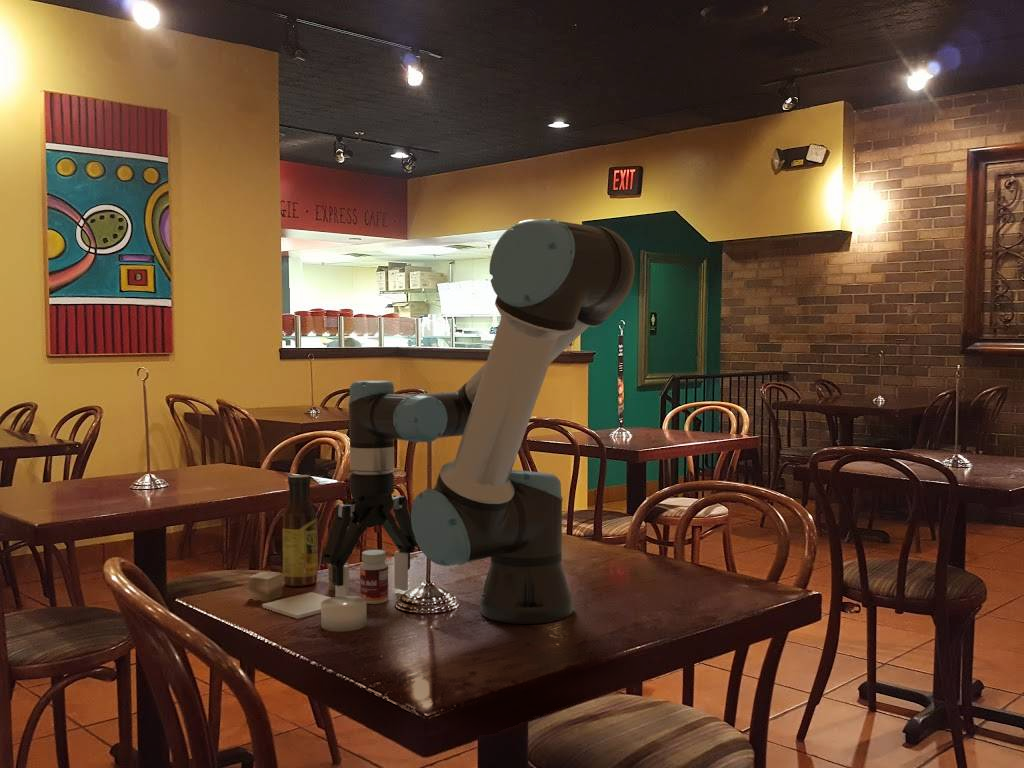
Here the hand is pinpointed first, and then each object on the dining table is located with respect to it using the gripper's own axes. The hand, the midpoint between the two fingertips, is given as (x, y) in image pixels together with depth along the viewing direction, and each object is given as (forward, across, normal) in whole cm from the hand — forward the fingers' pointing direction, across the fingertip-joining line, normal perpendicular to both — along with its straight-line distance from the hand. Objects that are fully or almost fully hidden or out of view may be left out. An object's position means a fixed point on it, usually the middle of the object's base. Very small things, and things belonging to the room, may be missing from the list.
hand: (372, 596), depth 161 cm
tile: (+1, +10, -6) cm, 11 cm away
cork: (+1, -1, -11) cm, 11 cm away
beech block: (+1, +11, -16) cm, 19 cm away
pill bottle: (+1, 0, 0) cm, 1 cm away
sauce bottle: (+1, +1, -19) cm, 19 cm away
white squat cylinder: (+1, +12, +7) cm, 14 cm away
